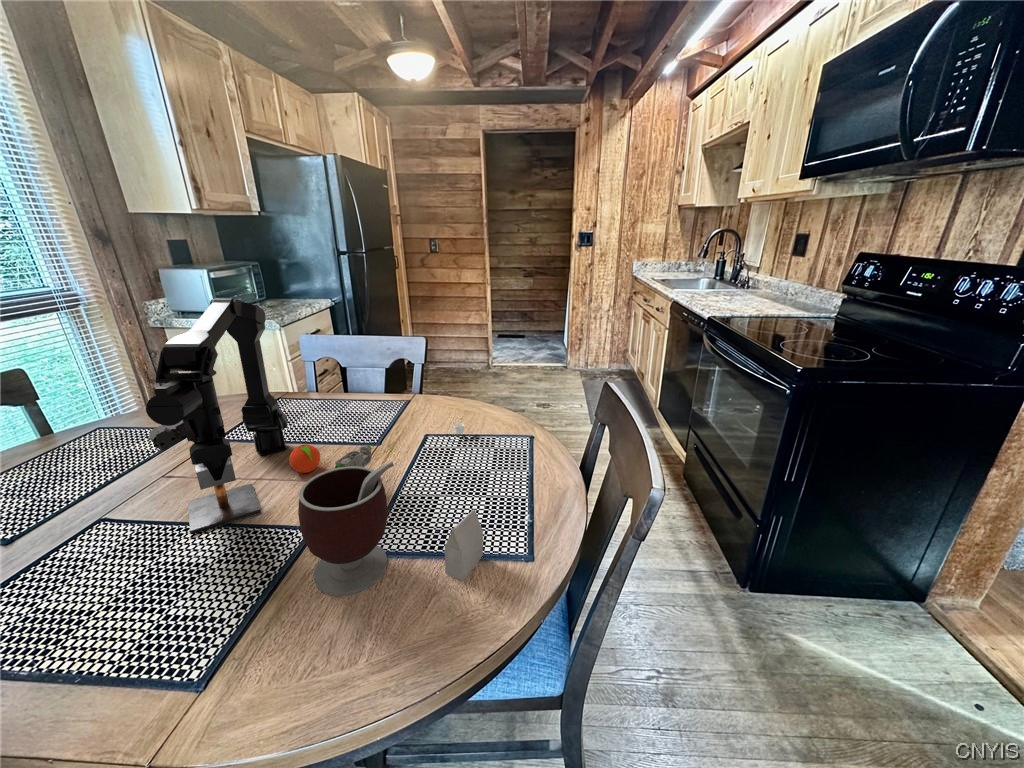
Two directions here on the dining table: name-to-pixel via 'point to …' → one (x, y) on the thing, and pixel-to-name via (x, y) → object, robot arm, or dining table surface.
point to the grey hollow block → (207, 479)
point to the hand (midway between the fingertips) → (216, 473)
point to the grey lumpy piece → (355, 458)
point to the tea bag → (464, 547)
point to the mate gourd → (345, 527)
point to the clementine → (304, 458)
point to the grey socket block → (222, 507)
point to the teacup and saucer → (458, 428)
